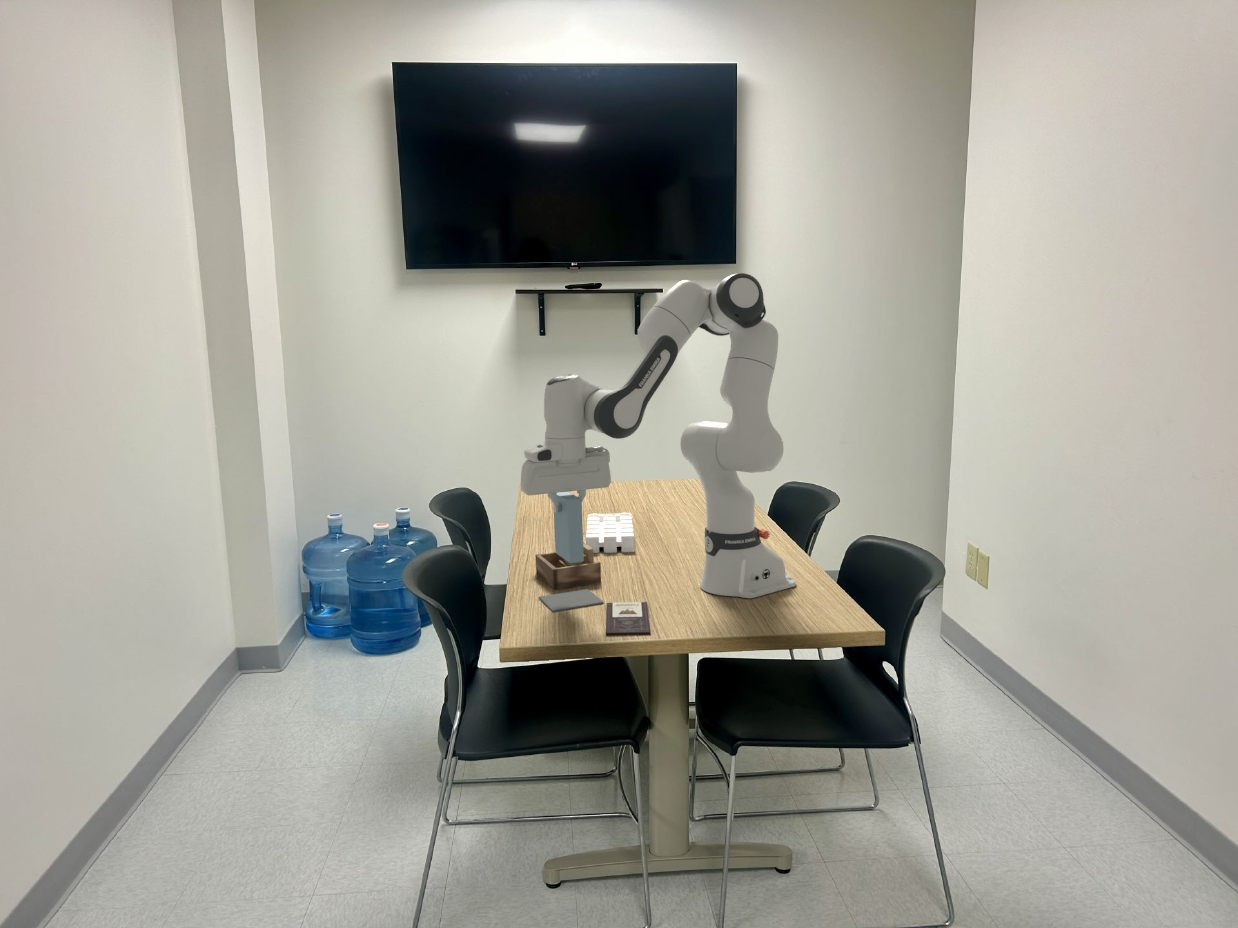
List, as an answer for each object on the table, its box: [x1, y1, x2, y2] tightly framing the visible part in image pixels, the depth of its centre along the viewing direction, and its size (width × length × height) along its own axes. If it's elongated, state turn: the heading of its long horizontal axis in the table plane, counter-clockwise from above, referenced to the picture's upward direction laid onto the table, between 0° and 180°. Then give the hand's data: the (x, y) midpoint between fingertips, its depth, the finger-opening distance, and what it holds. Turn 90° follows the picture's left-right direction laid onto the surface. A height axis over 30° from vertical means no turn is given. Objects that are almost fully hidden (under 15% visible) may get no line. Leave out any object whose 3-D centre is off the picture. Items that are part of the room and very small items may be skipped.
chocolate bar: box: [605, 601, 652, 637], centre depth 174 cm, size 9×1×18 cm
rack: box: [535, 551, 602, 591], centre depth 202 cm, size 12×14×5 cm
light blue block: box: [553, 491, 584, 563], centre depth 183 cm, size 3×10×14 cm, turn 23°
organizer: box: [585, 512, 635, 554], centre depth 241 cm, size 13×5×35 cm
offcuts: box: [564, 541, 595, 566], centre depth 203 cm, size 4×10×6 cm, turn 23°
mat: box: [538, 588, 605, 613], centre depth 186 cm, size 12×10×1 cm
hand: (567, 510), depth 183 cm, fingers closed on light blue block, 3 cm apart
